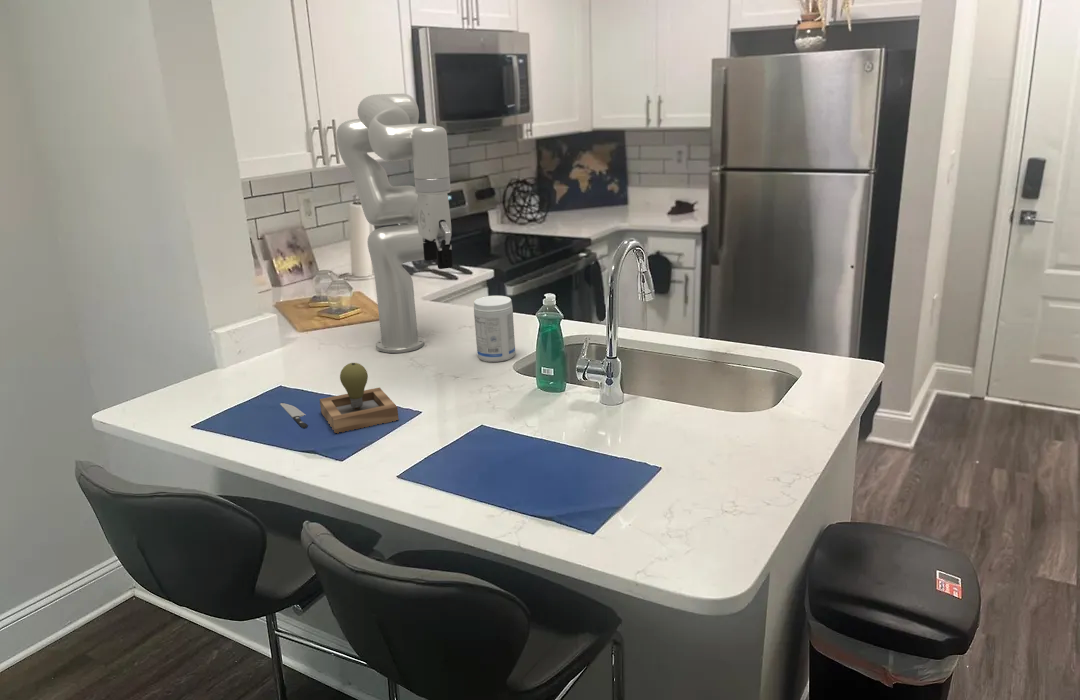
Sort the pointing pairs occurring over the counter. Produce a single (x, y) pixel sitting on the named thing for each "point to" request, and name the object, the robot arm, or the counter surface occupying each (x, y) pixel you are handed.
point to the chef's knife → (294, 414)
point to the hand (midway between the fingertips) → (438, 263)
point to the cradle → (358, 411)
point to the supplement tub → (494, 328)
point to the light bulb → (354, 382)
